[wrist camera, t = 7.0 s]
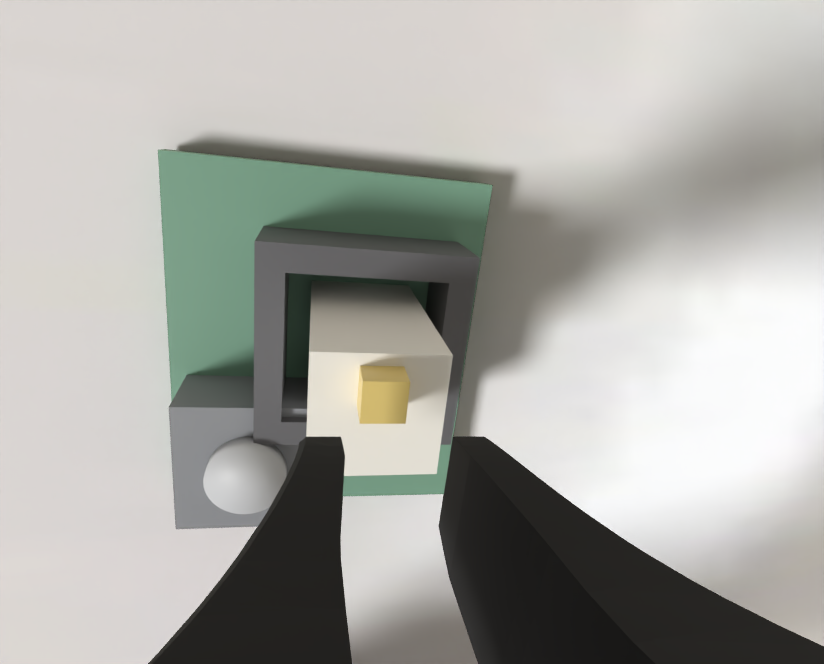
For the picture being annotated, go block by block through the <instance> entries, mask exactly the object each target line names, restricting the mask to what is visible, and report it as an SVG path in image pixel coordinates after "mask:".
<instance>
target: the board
mask: <svg viewBox="0 0 824 664" xmlns="http://www.w3.org/2000/svg"><path fill="white" fill-rule="evenodd" d="M158 160H159V178H160V197H161V215H162V233H163V251H164V270H165V288H166V306H167V324H168V343H169V361H170V379H171V397H172V402H171V404H170V406H169V419H170V437H171V454H172V472H173V489H174V507H175V524H176V529H195V528H225V527H255V526H258V525H259V524H260V522H261V521H262V519H263V518H264V516H265V515H266V513H267V511H268V510H269V508H270V506H271V504H272V502H273V501H274V499H275V497H276V495H277V494H278V492H279V490H280V488H281V486H282V485H283V483H284V481H285V479H286V477H287V475H288V473H289V470H290V468H291V466H292V464H293V461H294V459H295V456H296V453H297V450H298V446H299V442H300V441H301V440H303V439H304V438H305V437H306V430H307V398H308V366H309V338H310V309H311V281H312V280H313V281H332V282H351V283H370V284H389V285H407V286H409V287H410V289H411V290H412V292H413V293H414V295H415V297H416V298H417V300H418V301H419V303H420V304H421V306H422V308H423V309H424V311H425V312H426V314H427V315H428V317H429V319H430V320H431V322H432V323H433V325H434V326H435V328H436V330H437V331H438V333H439V334H440V336H441V337H442V339H443V340H444V342H445V344H446V345H447V347H448V348H449V350H450V351H451V353H452V355H453V359H452V366H451V373H450V381H449V388H448V395H447V402H446V409H445V417H444V424H443V431H442V438H441V445H440V453H439V460H438V467H437V474H414V475H369V476H344V483H343V496H377V495H421V494H444V489H445V483H446V477H447V470H448V464H449V458H450V451H451V445H452V438H453V434H454V428H455V421H456V415H457V408H458V402H459V396H460V389H461V383H462V377H463V370H464V364H465V358H466V351H467V345H468V338H469V332H470V326H471V319H472V313H473V307H474V300H475V294H476V287H477V281H478V275H479V268H480V262H481V256H482V249H483V243H484V236H485V230H486V224H487V217H488V211H489V205H490V198H491V192H492V186H493V185H489V184H486V183H477V182H468V181H458V180H449V179H439V178H430V177H421V176H411V175H402V174H393V173H383V172H374V171H364V170H355V169H346V168H336V167H327V166H317V165H308V164H299V163H289V162H280V161H270V160H261V159H252V158H242V157H233V156H224V155H214V154H205V153H195V152H186V151H177V150H167V149H163V150H158Z"/></svg>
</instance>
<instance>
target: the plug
mask: <svg viewBox="0 0 824 664" xmlns="http://www.w3.org/2000/svg"><path fill="white" fill-rule="evenodd" d="M452 359H453V355H452V353H451V351H450V350H449V348H448V347H447V345H446V344H445V342H444V340H443V339H442V337H441V336H440V334H439V333H438V331H437V330H436V328H435V326H434V325H433V323H432V322H431V320H430V319H429V317H428V315H427V314H426V312H425V311H424V309H423V308H422V306H421V304H420V303H419V301H418V300H417V298H416V297H415V295H414V293H413V292H412V290H411V289H410V287H409V286H407V285H389V284H370V283H351V282H332V281H313V280H312V281H311V309H310V338H309V366H308V398H307V430H306V437H341V439H342V443H343V448H344V453H345V466H344V476H369V475H414V474H437V467H438V460H439V453H440V445H441V438H442V431H443V424H444V417H445V409H446V402H447V395H448V388H449V381H450V373H451V366H452Z"/></svg>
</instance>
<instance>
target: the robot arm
mask: <svg viewBox="0 0 824 664" xmlns="http://www.w3.org/2000/svg"><path fill="white" fill-rule="evenodd" d="M344 466H345V453H344V448H343V443H342V439H341V437H305V438H304V439H303V440H301V441H300V442H299V446H298V450H297V453H296V456H295V459H294V461H293V464H292V466H291V468H290V470H289V473H288V475H287V477H286V479H285V481H284V483H283V485H282V486H281V488H280V490H279V492H278V494H277V495H276V497H275V499H274V501H273V502H272V504H271V506H270V508H269V510H268V511H267V513H266V515H265V516H264V518H263V519H262V521H261V522H260V524H259V525H258V527H257V528H256V530H255V531H254V533H253V534H252V536H251V537H250V539H249V540H248V542H247V543H246V545H245V546H244V548H243V549H242V551H241V552H240V554H239V555H238V557H237V558H236V559H235V561H234V562H233V563H232V565H231V566H230V567H229V569H228V570H227V572H226V573H225V574H224V575H223V577H222V578H221V579H220V581H219V582H218V583H217V585H216V586H215V587H214V588H213V590H212V591H211V592H210V593H209V595H208V596H207V597H206V598H205V599H204V601H203V602H202V603H201V604H200V606H199V607H198V608H197V609H196V610H195V612H194V613H193V614H192V615H191V616H190V617H189V619H188V620H187V621H186V622H185V623H184V624H183V625H182V627H181V628H180V629H179V630H178V631H177V632H176V633H175V634H174V636H173V637H172V638H171V639H170V640H169V641H168V642H167V644H166V645H165V646H164V647H163V648H162V649H161V650H160V651H159V653H158V654H157V655H156V656H155V657H154V658H153V659H152V660H151V661H150V662H149V663H148V664H352V660H351V651H350V642H349V634H348V625H347V616H346V607H345V597H344V587H343V577H342V567H341V545H340V535H341V518H342V501H343V483H344ZM439 530H440V535H441V540H442V545H443V550H444V555H445V560H446V565H447V569H448V574H449V578H450V581H451V584H452V587H453V591H454V594H455V597H456V600H457V603H458V606H459V609H460V612H461V615H462V617H463V620H464V623H465V626H466V629H467V632H468V635H469V638H470V641H471V644H472V647H473V650H474V653H475V655H476V658H477V661H478V664H824V646H821V645H819V644H817V643H815V642H813V641H811V640H809V639H806V638H804V637H802V636H800V635H798V634H796V633H794V632H791V631H789V630H787V629H785V628H783V627H781V626H779V625H777V624H775V623H773V622H771V621H769V620H767V619H765V618H763V617H761V616H759V615H757V614H755V613H753V612H751V611H749V610H747V609H745V608H743V607H741V606H739V605H737V604H735V603H733V602H731V601H729V600H727V599H725V598H723V597H721V596H719V595H718V594H716V593H714V592H712V591H710V590H708V589H707V588H705V587H703V586H701V585H699V584H697V583H696V582H694V581H692V580H690V579H689V578H687V577H685V576H683V575H682V574H680V573H678V572H677V571H675V570H673V569H672V568H670V567H668V566H666V565H665V564H663V563H661V562H660V561H658V560H656V559H655V558H653V557H651V556H650V555H648V554H646V553H645V552H643V551H641V550H640V549H638V548H637V547H635V546H634V545H632V544H630V543H629V542H627V541H626V540H624V539H623V538H621V537H620V536H618V535H617V534H615V533H614V532H612V531H611V530H609V529H608V528H607V527H605V526H604V525H602V524H601V523H599V522H598V521H596V520H595V519H593V518H592V517H590V516H589V515H588V514H586V513H585V512H583V511H582V510H581V509H579V508H578V507H577V506H575V505H574V504H572V503H571V502H570V501H568V500H567V499H566V498H564V497H563V496H562V495H560V494H559V493H558V492H556V491H555V490H554V489H552V488H551V487H550V486H548V485H547V484H546V483H545V482H543V481H542V480H541V479H539V478H538V477H537V476H536V475H534V474H533V473H532V472H530V471H529V470H528V469H527V468H525V467H524V466H523V465H521V464H520V463H519V462H518V461H516V460H515V459H514V458H513V457H511V456H510V455H509V454H507V453H506V452H505V451H503V450H502V449H501V448H499V447H498V446H497V445H495V444H494V443H493V442H491V441H490V440H488V439H487V438H485V437H453V438H452V445H451V451H450V458H449V464H448V470H447V477H446V483H445V489H444V496H443V502H442V509H441V515H440V521H439Z"/></svg>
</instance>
